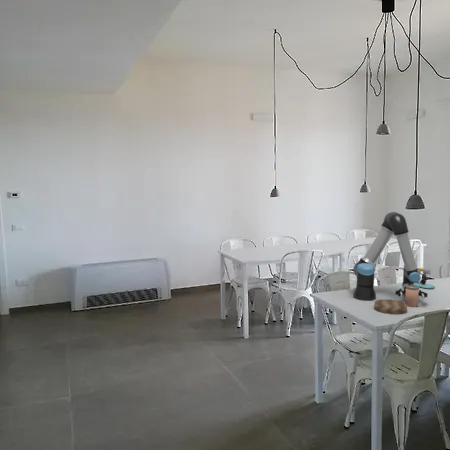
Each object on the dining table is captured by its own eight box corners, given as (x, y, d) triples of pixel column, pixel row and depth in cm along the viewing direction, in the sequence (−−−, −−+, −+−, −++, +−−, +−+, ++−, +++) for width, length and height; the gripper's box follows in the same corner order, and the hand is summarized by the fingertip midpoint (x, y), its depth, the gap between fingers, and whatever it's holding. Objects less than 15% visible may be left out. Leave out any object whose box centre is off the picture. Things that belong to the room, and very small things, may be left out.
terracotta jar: (405, 306, 318) (406, 287, 316) (404, 303, 326) (405, 284, 324) (418, 307, 316) (419, 288, 314) (417, 304, 324) (418, 285, 322)
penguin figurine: (436, 288, 369) (437, 268, 367) (430, 290, 362) (431, 270, 360) (411, 283, 384) (412, 264, 382) (405, 285, 377) (406, 266, 375)
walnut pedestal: (374, 312, 303) (374, 306, 303) (373, 304, 323) (374, 298, 322) (408, 315, 298) (408, 309, 298) (405, 306, 317) (405, 300, 317)
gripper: (428, 296, 335) (432, 304, 314) (390, 293, 341) (392, 300, 321) (428, 285, 334) (433, 292, 313) (390, 282, 340) (392, 289, 320)
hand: (412, 297), depth 317 cm, fingers open, 13 cm apart
